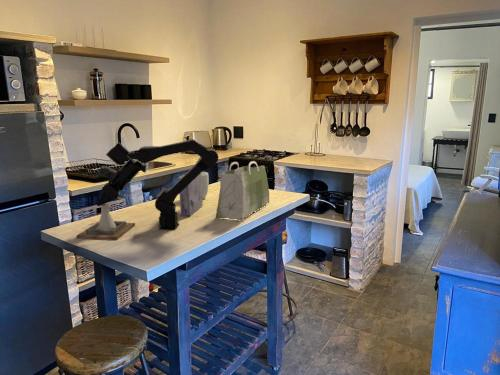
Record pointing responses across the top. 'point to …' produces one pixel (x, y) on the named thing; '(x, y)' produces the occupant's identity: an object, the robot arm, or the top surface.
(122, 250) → the top surface
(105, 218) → the flask
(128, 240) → the top surface
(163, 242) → the top surface
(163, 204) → the robot arm
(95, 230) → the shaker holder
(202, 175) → the mug
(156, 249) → the top surface
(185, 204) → the cake pan box
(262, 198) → the grocery bag
